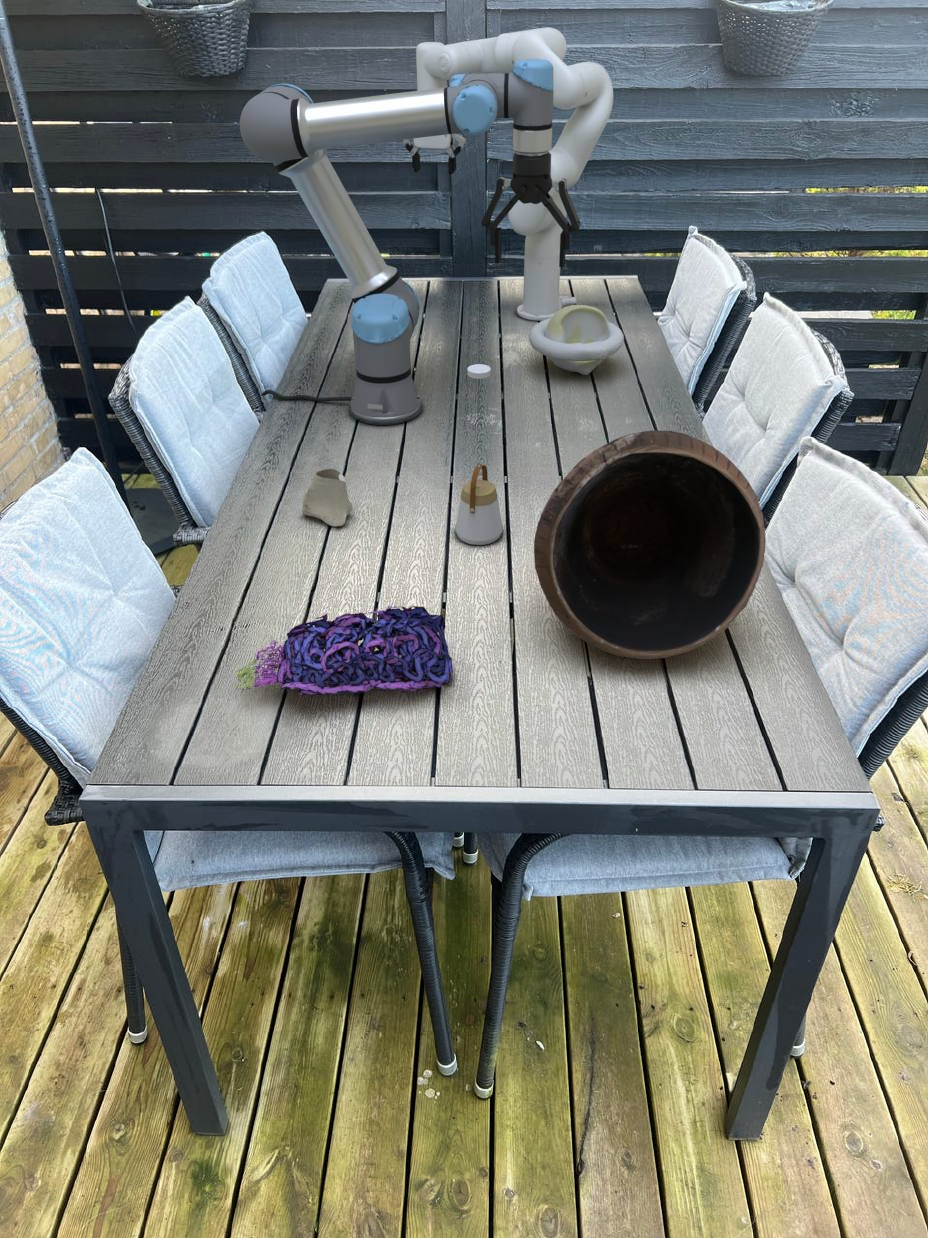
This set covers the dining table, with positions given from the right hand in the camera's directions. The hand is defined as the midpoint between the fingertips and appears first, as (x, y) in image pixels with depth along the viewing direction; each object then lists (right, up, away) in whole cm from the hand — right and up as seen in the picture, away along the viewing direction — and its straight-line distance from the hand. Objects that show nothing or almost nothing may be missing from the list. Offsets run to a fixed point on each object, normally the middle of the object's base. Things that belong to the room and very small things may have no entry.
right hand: (434, 172), depth 247 cm
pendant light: (+10, -104, -84) cm, 134 cm away
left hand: (+22, -44, -52) cm, 72 cm away
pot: (+35, -117, -102) cm, 159 cm away
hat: (+34, -60, -27) cm, 74 cm away
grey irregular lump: (-17, -101, -80) cm, 130 cm away
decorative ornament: (-9, -128, -116) cm, 173 cm away
